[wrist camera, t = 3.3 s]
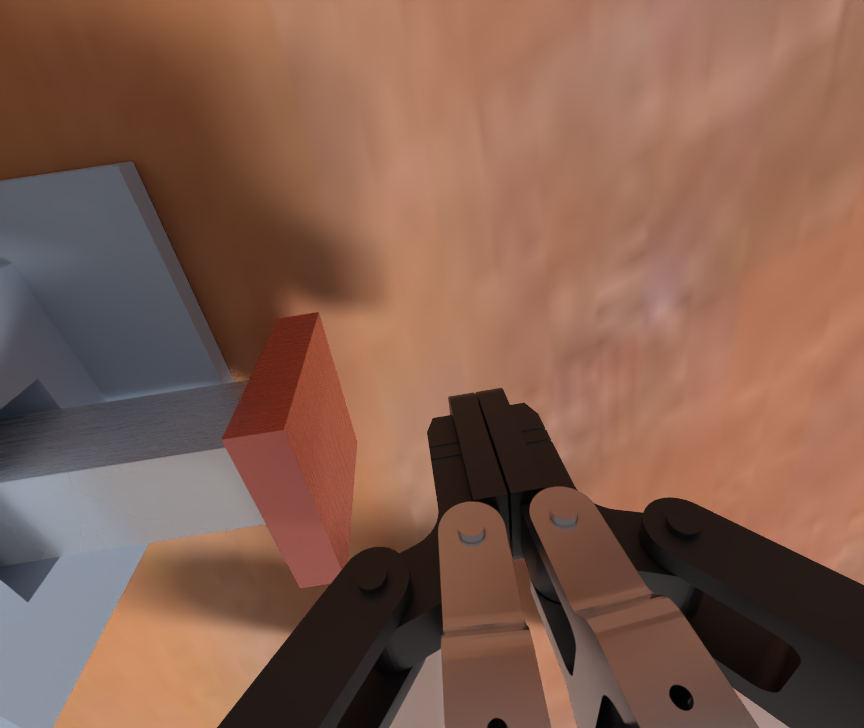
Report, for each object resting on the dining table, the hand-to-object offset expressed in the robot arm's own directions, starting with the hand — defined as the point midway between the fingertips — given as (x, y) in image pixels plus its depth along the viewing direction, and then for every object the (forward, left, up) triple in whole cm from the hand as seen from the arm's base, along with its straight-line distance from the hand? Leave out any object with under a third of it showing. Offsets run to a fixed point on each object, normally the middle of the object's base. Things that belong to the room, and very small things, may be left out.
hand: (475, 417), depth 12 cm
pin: (+11, 0, -3) cm, 11 cm away
